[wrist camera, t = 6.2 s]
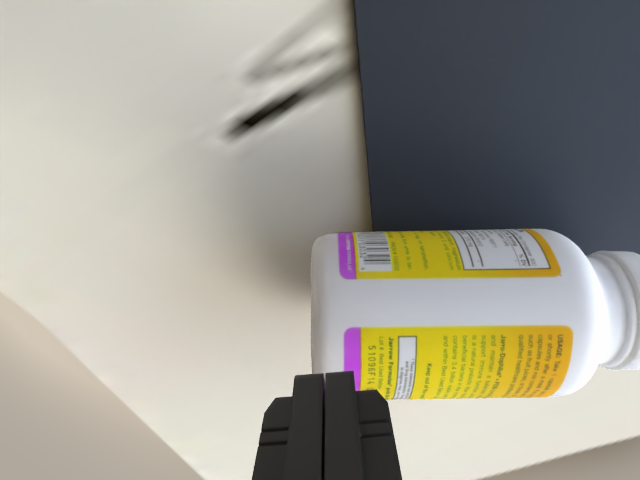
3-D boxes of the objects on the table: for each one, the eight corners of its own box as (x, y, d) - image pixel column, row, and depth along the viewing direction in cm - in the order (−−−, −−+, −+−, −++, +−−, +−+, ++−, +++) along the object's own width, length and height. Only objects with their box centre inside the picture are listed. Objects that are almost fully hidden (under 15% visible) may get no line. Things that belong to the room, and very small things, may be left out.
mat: (352, -17, 18) (352, -20, 18) (722, -68, 17) (729, -70, 17) (384, 371, 24) (385, 374, 24) (663, 345, 23) (667, 348, 23)
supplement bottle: (316, 400, 21) (604, 399, 20) (308, 399, 15) (722, 398, 14) (315, 258, 23) (575, 255, 23) (308, 206, 17) (667, 200, 16)
